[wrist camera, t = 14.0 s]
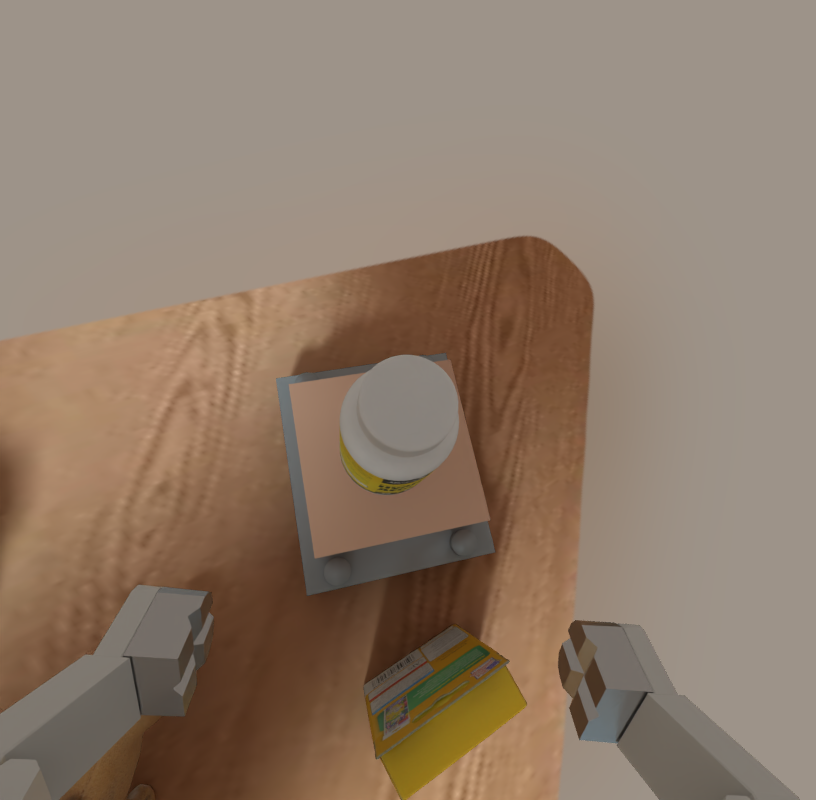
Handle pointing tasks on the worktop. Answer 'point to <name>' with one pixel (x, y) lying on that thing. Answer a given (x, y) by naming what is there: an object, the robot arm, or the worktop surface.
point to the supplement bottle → (398, 424)
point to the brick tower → (367, 512)
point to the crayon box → (438, 706)
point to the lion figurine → (116, 770)
